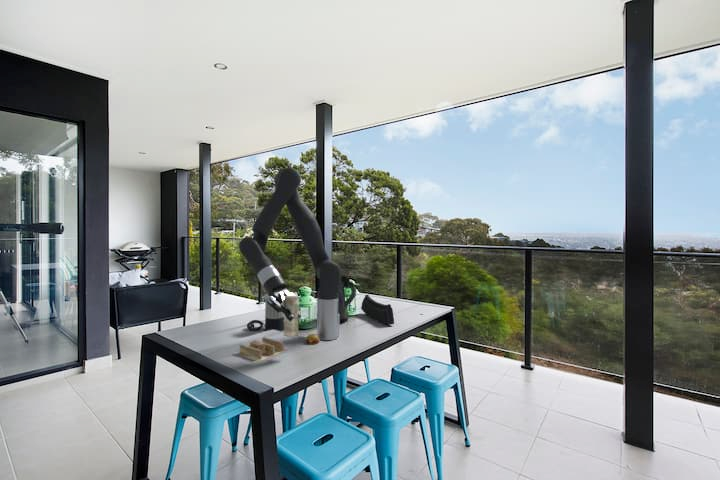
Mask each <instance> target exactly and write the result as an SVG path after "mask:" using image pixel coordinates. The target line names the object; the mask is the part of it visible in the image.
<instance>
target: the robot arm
mask: <svg viewBox="0 0 720 480" xmlns="http://www.w3.org/2000/svg"><path fill="white" fill-rule="evenodd" d="M301 178H302V176H301V174H300V172H299V171H298V169H295V168H293V167H287V168H284V169H282V170H281V171H280V170H279V172H277V173H276V174H275V176H274V179H273V182H274V186H275V190H274V191H273V194H272V195H271V197H270V198H269V200H268V201H267V202H266V204H265V205H264V207H263V208H262V209H261V211H260V212H259V214H258V216H257V218H256V219H255V222H254V223H253V224H252V227H251V229H252V233H253V236H252V237H251V236H245V237H243V238H242V239H241V240H240V241H239V244H238V248H239V252H240V254H241V255H242V257H244V259H245V260H246V261H247V262H248V264H250V266H251V267H252V270H253V271H254V273H255V275H256V276H257V278H258V280H259V282H260V284H261V286H262V288H263V289H264V290H265V292H266V294H267V296H268V297H270V298H269V299H268V300H267V303H268V304H269V305H270V306H271V307H272V308H273V309H275V310H276V311H277V312H278V313H279V312H282V313H284V314H285V316H286V318H287V319H288V320H289V321H292V320H293V319H294V316H293V315H292V313H291V312H290V310H289V309H288V307H287V305H286V301H285V300H284V296H289V295H292V296H298V293H297V292H296V291H295V292H291V291H290V290H289V289H288V284H287V283H286V282H285V280H284V278H283V277H282V275H281V273H280V272H279V271H278V269H277V268H276V267H275V266H274V264H273V262H272V261H271V259H270V258H269V257H268V256H267V255H266V254H265V253H264V252H265V250H266V248H267V244H268V241H269V236H270V233H271V232H272V231H273V229H274V226H275V224H276V223H277V221H278V219H279V217H280V215H281V213H282V211H283V209H284V208H285V206H286V207H287V210H288V212H289V216H290V217H291V219H292V221H293V224H294V226H295V228H296V232H297V233H298V236H299V238H300V239H301V242H302V243H303V245H304V247H305V249H306V250H307V252H308V255H309V258H310V260H311V263H312V265H313V266H312V267H313V268H314V273H315V275H316V277H317V278H318V279H319V287H318V291H317V292H316V293H317V294H316V296H317V297H316V304H317V305H316V335H318V337H319V340H321V341H333V340H336V339H338V338H339V336H340V324H339V319H340V315H339V314H338V299H339V292H340V281H341V275H342V274H341V268H340V266H339V264H338V263H336V262H334V261H332V260H331V259H330V256H329V255H328V253H327V251H326V249H325V246H324V245H325V244H324V240H323V234H322V231H321V227H320V225H319V223H318V220H317V219H316V216H315V215H314V213H313V212H312V210H311V209H310V208H309V207H308V206H307V204H306V203H305V202H304V201H303V199H302V197H301V195H300V193H299V190H298V187H299V186H300V184H301V181H302V179H301ZM276 305H277V306H278V307H279V308H277V307H276ZM301 317H302V314H301V312H300V310H298V320H299V319H300V318H301Z"/></svg>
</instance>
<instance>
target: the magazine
mask: <svg viewBox="0 0 720 480" xmlns="http://www.w3.org/2000/svg"><path fill="white" fill-rule="evenodd" d="M360 309H361V311H362V312H363V313H364V314H367V317H369V318H370V317H371V318H370V319H372V318H373V319H372V320H374V319H375V320H374V321H376V320H377V321H376V322H378V321H379V322H378V323H380V324H385V325H391V326H392V325H394V324H395V318H394V311H393V308H392V306H391V304H390V303H388V304H383V303H380V302H377V301H376V300H374V299H373V298H372V297H370V296H369V294H365V296H364V298H363V299H362V301H361V305H360Z"/></svg>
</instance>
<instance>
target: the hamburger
mask: <svg viewBox="0 0 720 480" xmlns="http://www.w3.org/2000/svg"><path fill="white" fill-rule="evenodd" d="M305 342H306V344H308V345H317V344H319V343H320V339H319V337H318V335H317V333H316V334H315V333H310V334H308V335H307V336H306V339H305Z"/></svg>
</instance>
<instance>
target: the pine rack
mask: <svg viewBox="0 0 720 480" xmlns="http://www.w3.org/2000/svg"><path fill="white" fill-rule="evenodd" d="M254 341H256V340H252V342H254ZM261 342H263V343H265V344H266V347H265V350H267V354H265V355H262V350H259V349H256V348H252V347H249V346H250V345H244V344H243V343H242V344H239V352H237V353H236V355H238V356H240V357H243V358H246V359H249V360H253V361H256V362H259V361H262V360H264V359H267V358H269V357H270V358H271V357H273V356H275V355H278V354H280V353H283V352H286V351H287V349H286V348H285V343H284V342H283V341H278V340H276V339H275V340H274V339H270V338H267V337H261Z"/></svg>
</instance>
